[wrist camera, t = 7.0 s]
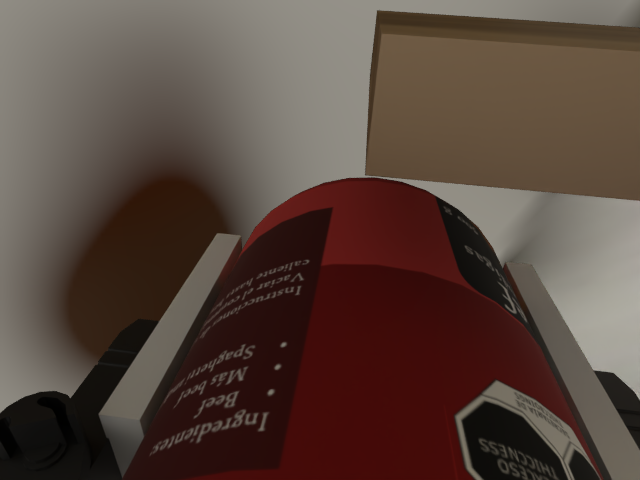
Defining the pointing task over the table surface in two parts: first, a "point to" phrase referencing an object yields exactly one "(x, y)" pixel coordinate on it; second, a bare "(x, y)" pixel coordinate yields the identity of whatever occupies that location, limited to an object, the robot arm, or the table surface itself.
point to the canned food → (365, 356)
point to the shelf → (505, 104)
